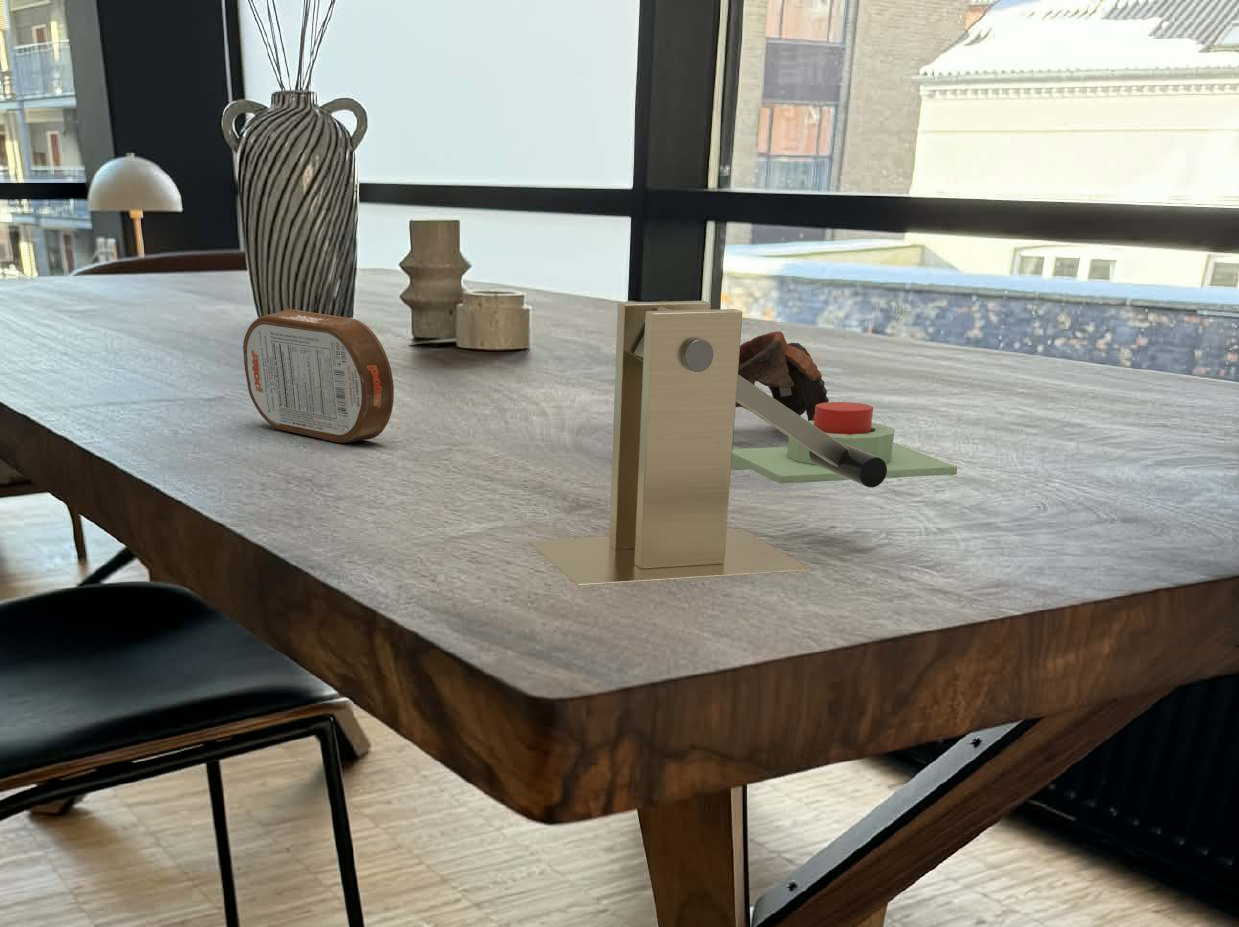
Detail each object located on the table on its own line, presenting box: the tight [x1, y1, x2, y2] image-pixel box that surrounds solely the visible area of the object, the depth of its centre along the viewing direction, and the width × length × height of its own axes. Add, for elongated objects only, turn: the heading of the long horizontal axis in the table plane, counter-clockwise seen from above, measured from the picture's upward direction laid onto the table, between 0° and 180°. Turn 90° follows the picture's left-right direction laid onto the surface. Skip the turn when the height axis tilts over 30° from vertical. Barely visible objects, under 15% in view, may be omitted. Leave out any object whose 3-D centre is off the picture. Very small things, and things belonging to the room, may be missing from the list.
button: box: [814, 401, 874, 434], centre depth 96 cm, size 4×4×2 cm
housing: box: [731, 420, 958, 484], centre depth 97 cm, size 12×9×4 cm
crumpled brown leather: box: [736, 331, 830, 421], centre depth 113 cm, size 12×10×8 cm
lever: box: [634, 307, 887, 489], centre depth 74 cm, size 13×6×2 cm
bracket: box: [527, 300, 813, 587], centre depth 74 cm, size 12×9×13 cm
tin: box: [242, 308, 395, 444], centre depth 111 cm, size 15×3×8 cm, turn 44°
